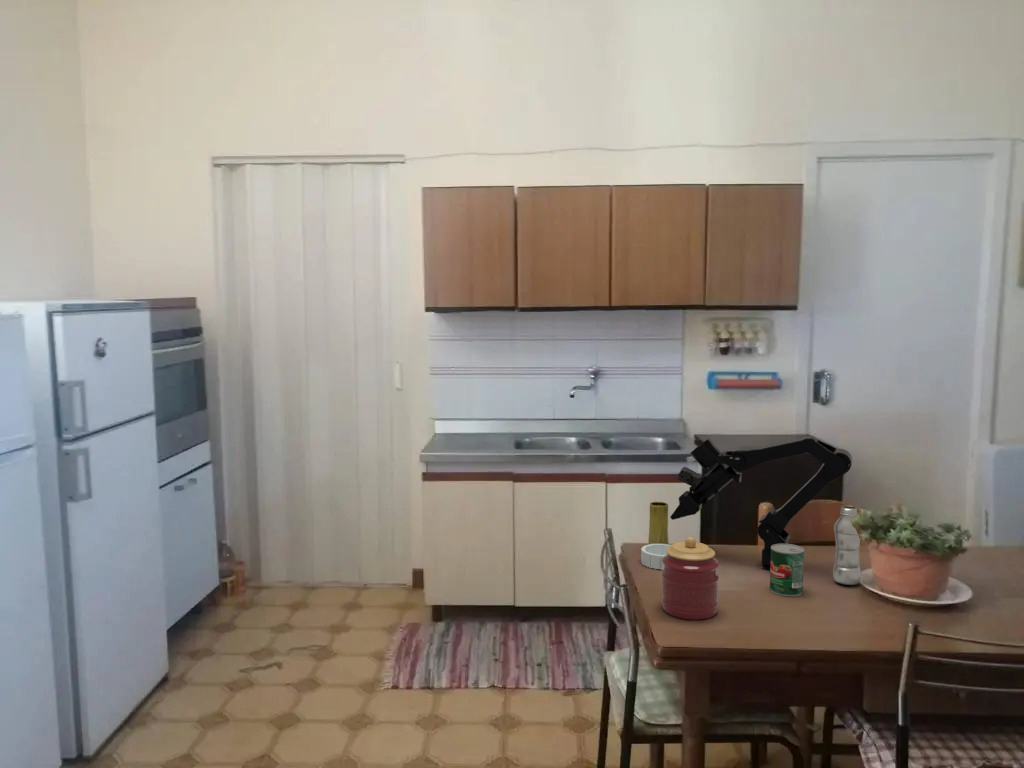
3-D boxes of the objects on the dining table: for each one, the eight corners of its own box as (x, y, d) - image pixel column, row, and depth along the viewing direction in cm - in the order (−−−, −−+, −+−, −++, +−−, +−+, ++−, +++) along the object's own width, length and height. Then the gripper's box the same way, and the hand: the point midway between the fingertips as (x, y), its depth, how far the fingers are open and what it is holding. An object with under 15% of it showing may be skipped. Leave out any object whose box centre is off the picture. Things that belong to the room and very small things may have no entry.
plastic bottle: (865, 588, 193) (868, 510, 191) (838, 588, 193) (840, 510, 191) (854, 579, 199) (857, 504, 197) (828, 579, 199) (830, 504, 197)
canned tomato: (765, 592, 191) (766, 549, 190) (775, 582, 197) (776, 541, 196) (797, 599, 186) (798, 555, 185) (807, 589, 192) (808, 547, 191)
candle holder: (686, 560, 215) (686, 547, 214) (675, 572, 205) (675, 558, 205) (648, 554, 220) (648, 541, 220) (636, 566, 210) (636, 552, 210)
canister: (677, 623, 172) (678, 547, 170) (652, 602, 184) (652, 531, 183) (728, 617, 175) (730, 542, 174) (700, 596, 188) (701, 527, 186)
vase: (664, 555, 219) (665, 507, 218) (644, 552, 222) (644, 504, 221) (672, 550, 224) (672, 502, 223) (652, 546, 227) (652, 500, 226)
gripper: (702, 453, 224) (664, 486, 230) (687, 465, 208) (647, 500, 214) (729, 482, 222) (690, 514, 228) (715, 496, 205) (674, 531, 211)
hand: (675, 514), depth 220 cm, fingers open, 9 cm apart
